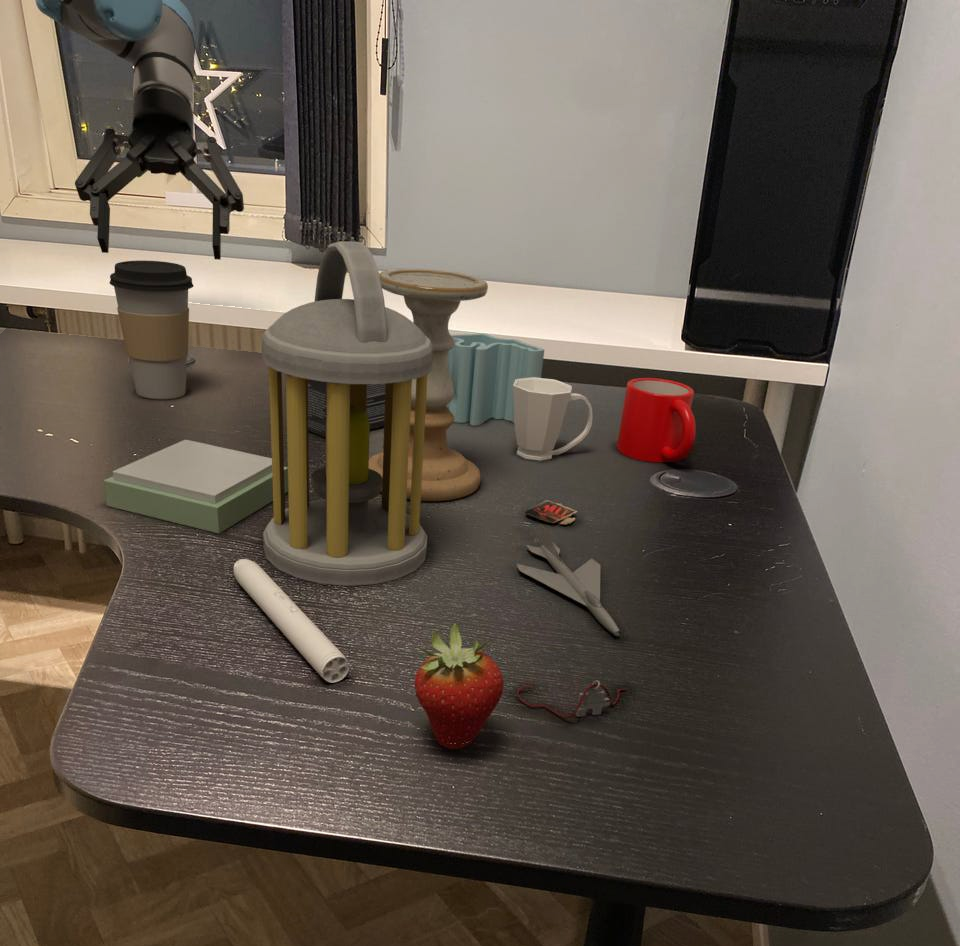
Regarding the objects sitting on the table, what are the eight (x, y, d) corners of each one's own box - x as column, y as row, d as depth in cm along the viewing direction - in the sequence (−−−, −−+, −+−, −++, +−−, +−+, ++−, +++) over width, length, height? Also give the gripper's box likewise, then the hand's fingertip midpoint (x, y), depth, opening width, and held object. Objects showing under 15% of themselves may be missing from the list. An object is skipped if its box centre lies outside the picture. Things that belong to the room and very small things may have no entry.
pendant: (535, 728, 59) (540, 694, 58) (513, 691, 63) (517, 658, 61) (645, 716, 61) (653, 683, 60) (618, 680, 65) (625, 648, 64)
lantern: (453, 573, 78) (477, 259, 65) (290, 596, 72) (282, 256, 59) (391, 509, 88) (402, 230, 76) (245, 525, 82) (230, 224, 70)
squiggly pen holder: (503, 403, 124) (509, 332, 119) (538, 425, 116) (547, 350, 112) (378, 409, 116) (380, 334, 112) (407, 434, 109) (411, 354, 104)
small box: (361, 411, 115) (362, 325, 110) (396, 425, 112) (400, 337, 106) (294, 425, 108) (292, 334, 103) (330, 440, 104) (330, 347, 99)
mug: (658, 476, 103) (672, 408, 99) (604, 442, 113) (614, 378, 109) (714, 472, 106) (730, 405, 102) (657, 439, 116) (669, 376, 112)
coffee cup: (125, 381, 117) (112, 257, 110) (202, 383, 120) (193, 261, 112) (118, 403, 110) (102, 270, 102) (200, 404, 112) (190, 275, 104)
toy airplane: (572, 645, 69) (576, 619, 68) (485, 532, 86) (487, 509, 85) (662, 636, 71) (667, 611, 70) (560, 528, 88) (563, 505, 87)
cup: (497, 444, 108) (504, 376, 104) (576, 444, 111) (585, 377, 107) (514, 464, 103) (522, 393, 99) (596, 464, 105) (607, 394, 101)
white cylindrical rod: (225, 576, 74) (224, 549, 73) (250, 571, 75) (249, 545, 74) (321, 686, 61) (321, 656, 60) (350, 679, 62) (350, 649, 61)
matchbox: (521, 516, 89) (522, 512, 89) (541, 501, 93) (541, 496, 93) (566, 528, 88) (566, 524, 88) (583, 512, 92) (584, 507, 92)
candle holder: (394, 452, 103) (402, 261, 93) (496, 474, 99) (515, 279, 89) (342, 486, 93) (343, 276, 82) (453, 512, 89) (469, 296, 79)
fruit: (413, 717, 59) (419, 609, 55) (495, 722, 59) (507, 615, 55) (409, 766, 55) (415, 653, 51) (498, 771, 55) (511, 659, 51)
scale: (102, 505, 84) (98, 471, 82) (183, 466, 94) (180, 435, 92) (219, 534, 80) (216, 499, 79) (289, 491, 90) (288, 459, 89)
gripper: (262, 138, 125) (263, 273, 120) (69, 122, 120) (61, 262, 115) (260, 94, 118) (260, 235, 113) (54, 75, 113) (45, 221, 108)
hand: (160, 249), depth 114 cm, fingers open, 13 cm apart
